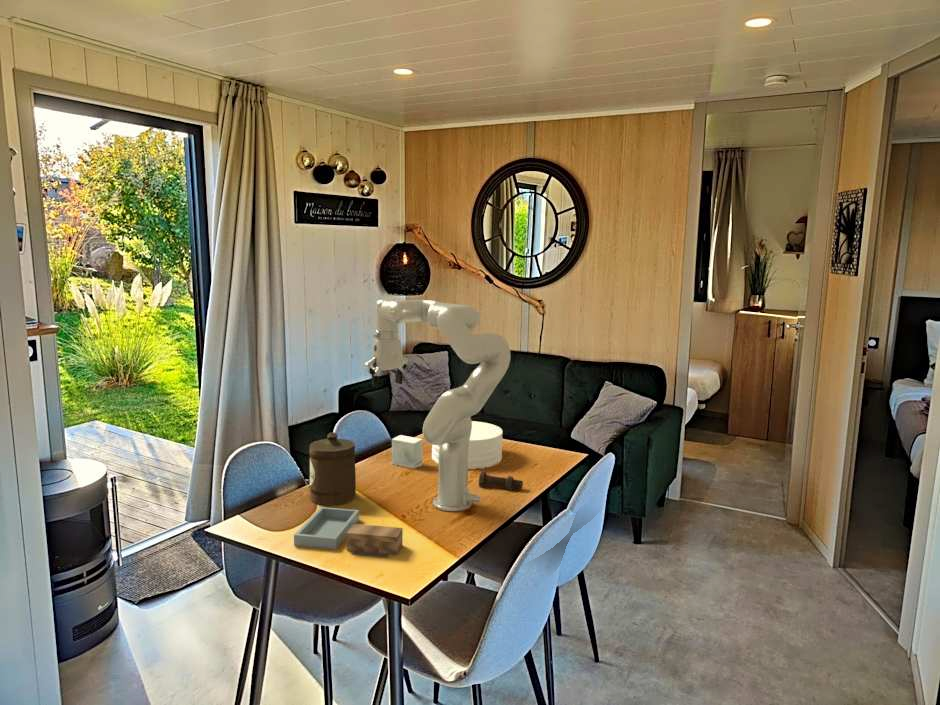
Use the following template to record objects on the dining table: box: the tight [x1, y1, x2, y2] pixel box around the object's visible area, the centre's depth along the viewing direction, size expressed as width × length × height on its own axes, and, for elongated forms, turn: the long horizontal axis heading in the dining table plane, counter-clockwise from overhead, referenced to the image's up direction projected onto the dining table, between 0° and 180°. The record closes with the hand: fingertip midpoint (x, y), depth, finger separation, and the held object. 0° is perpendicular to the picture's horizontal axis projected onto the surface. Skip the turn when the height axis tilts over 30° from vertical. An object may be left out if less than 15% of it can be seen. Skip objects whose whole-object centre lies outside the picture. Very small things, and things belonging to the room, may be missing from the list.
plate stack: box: [431, 420, 504, 470], centre depth 260 cm, size 28×28×12 cm
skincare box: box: [391, 434, 424, 470], centre depth 250 cm, size 10×6×10 cm, turn 63°
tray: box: [293, 506, 360, 550], centre depth 188 cm, size 12×20×4 cm, turn 171°
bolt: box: [478, 470, 524, 491], centre depth 228 cm, size 6×5×15 cm
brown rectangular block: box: [346, 523, 404, 556], centre depth 178 cm, size 14×6×5 cm, turn 81°
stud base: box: [351, 551, 390, 559], centre depth 179 cm, size 10×10×4 cm
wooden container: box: [309, 431, 357, 506], centre depth 215 cm, size 15×15×22 cm
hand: (387, 385), depth 225 cm, fingers open, 9 cm apart
